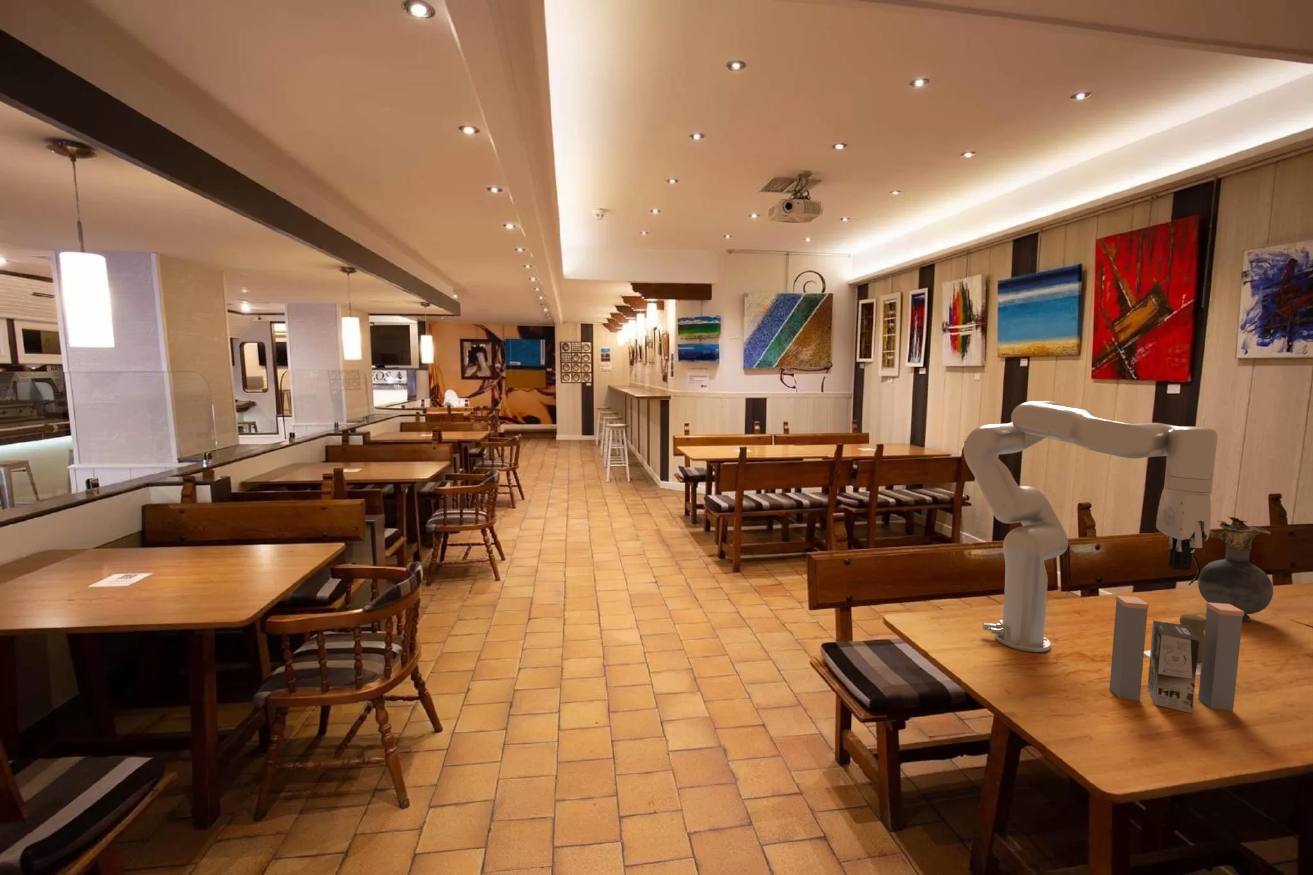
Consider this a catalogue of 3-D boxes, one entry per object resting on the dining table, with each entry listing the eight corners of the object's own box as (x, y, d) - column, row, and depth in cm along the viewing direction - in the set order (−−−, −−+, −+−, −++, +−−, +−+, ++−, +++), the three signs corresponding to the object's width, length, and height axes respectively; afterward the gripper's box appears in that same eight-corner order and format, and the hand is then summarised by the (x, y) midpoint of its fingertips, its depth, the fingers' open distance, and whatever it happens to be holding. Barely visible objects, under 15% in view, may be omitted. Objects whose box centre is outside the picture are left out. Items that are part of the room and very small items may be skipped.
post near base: (1118, 698, 129) (1126, 602, 126) (1108, 688, 133) (1116, 595, 131) (1140, 701, 128) (1148, 604, 126) (1130, 691, 132) (1137, 597, 130)
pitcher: (1263, 630, 163) (1274, 525, 160) (1175, 607, 179) (1184, 512, 176) (1274, 621, 169) (1285, 520, 166) (1188, 600, 185) (1197, 508, 182)
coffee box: (1193, 714, 123) (1200, 640, 121) (1154, 705, 126) (1160, 633, 124) (1183, 694, 130) (1190, 625, 129) (1146, 686, 134) (1152, 618, 132)
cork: (1212, 664, 144) (1216, 621, 143) (1184, 662, 145) (1188, 619, 144) (1195, 653, 150) (1199, 612, 149) (1168, 651, 151) (1172, 610, 150)
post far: (1210, 708, 125) (1220, 609, 122) (1197, 698, 129) (1206, 602, 127) (1234, 711, 124) (1244, 611, 121) (1220, 700, 128) (1229, 604, 126)
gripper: (1146, 477, 132) (1139, 556, 134) (1189, 490, 117) (1180, 578, 119) (1186, 479, 130) (1178, 559, 132) (1234, 492, 115) (1224, 582, 117)
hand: (1179, 568), depth 125 cm, fingers closed
